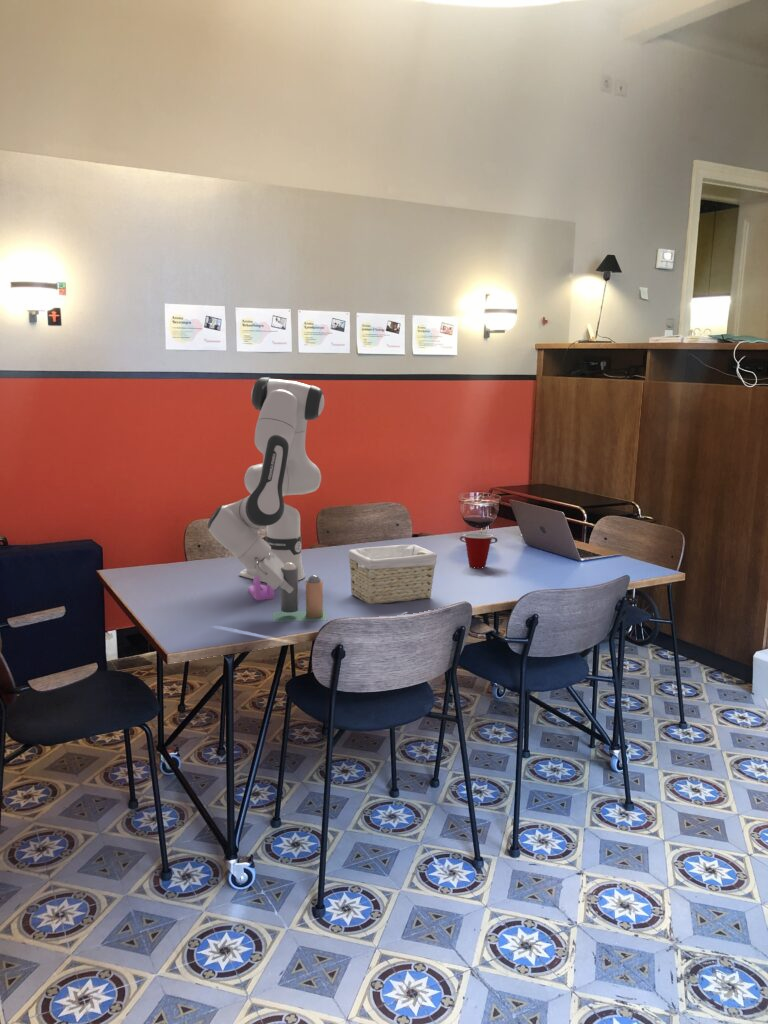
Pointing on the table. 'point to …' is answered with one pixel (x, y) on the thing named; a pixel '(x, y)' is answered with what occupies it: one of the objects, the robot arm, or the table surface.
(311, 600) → the orange cylinder
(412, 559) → the storage basket
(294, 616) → the green card
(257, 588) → the bracket
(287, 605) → the charcoal tube
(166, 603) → the table surface
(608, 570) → the table surface
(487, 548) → the plastic cup
